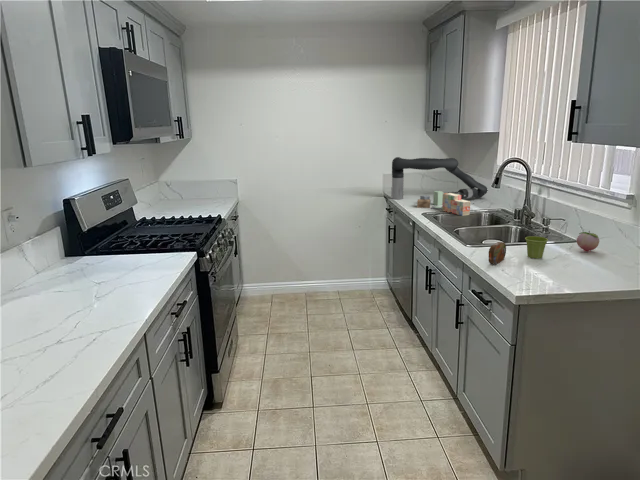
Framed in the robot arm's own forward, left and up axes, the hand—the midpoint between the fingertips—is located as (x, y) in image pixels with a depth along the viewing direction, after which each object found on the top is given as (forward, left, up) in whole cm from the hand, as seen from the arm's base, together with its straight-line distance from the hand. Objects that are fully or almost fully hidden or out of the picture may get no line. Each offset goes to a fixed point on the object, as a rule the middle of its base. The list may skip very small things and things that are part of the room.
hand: (449, 195), depth 332 cm
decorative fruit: (+69, -115, -6) cm, 134 cm away
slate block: (-17, -4, -6) cm, 19 cm away
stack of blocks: (+6, -35, -6) cm, 36 cm away
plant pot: (+45, -130, -6) cm, 138 cm away
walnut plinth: (-17, -17, -6) cm, 25 cm away
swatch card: (-6, -21, -6) cm, 23 cm away
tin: (+28, -142, -6) cm, 144 cm away
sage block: (-7, -7, -6) cm, 12 cm away
